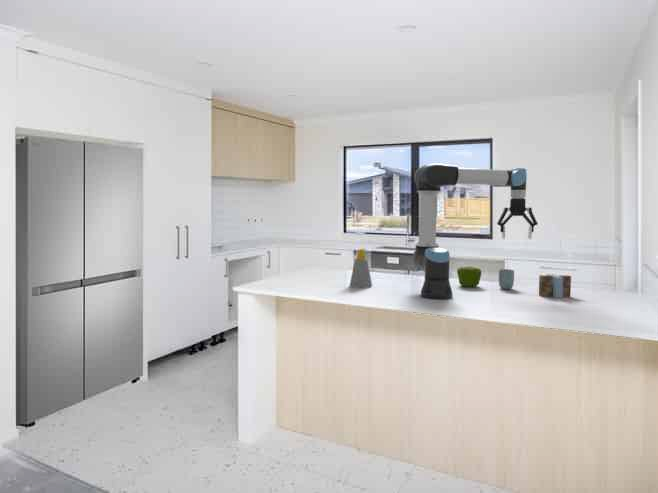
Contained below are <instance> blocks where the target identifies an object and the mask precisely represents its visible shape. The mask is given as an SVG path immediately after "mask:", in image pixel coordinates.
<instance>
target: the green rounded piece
mask: <svg viewBox="0 0 658 493" xmlns="http://www.w3.org/2000/svg"><path fill="white" fill-rule="evenodd" d="M456 274H457V277H458V283H459V285H461V287H465V288H474V287H476V286H478V285H480V280H481V277H482V270H481V269H480V268H478V267H473V266H463V267H459V268H457V271H456Z"/></svg>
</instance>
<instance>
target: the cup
mask: <svg viewBox="0 0 658 493" xmlns="http://www.w3.org/2000/svg"><path fill="white" fill-rule="evenodd" d="M514 283H515V270H513V269H505V268H504V269H503V268H502V269H501V268H500V269H499V270H498V286H499V288H500V289H502V290H511V289H512V288H513V287H514V285H515V284H514Z"/></svg>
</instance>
